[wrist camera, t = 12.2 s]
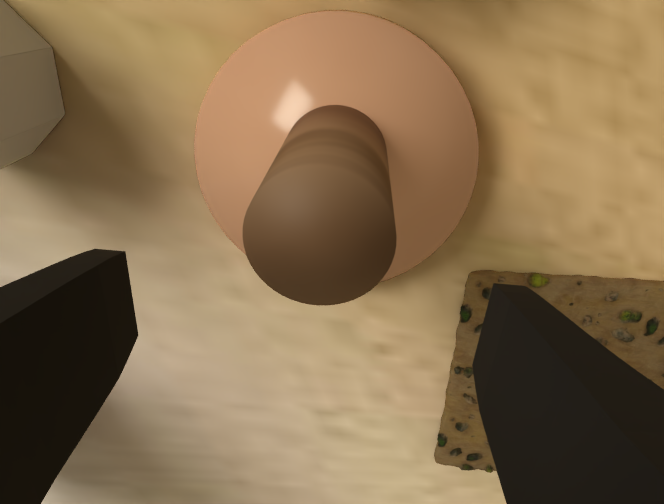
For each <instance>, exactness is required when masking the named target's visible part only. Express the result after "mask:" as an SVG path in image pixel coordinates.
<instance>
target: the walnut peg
mask: <svg viewBox="0 0 664 504" xmlns="http://www.w3.org/2000/svg"><path fill="white" fill-rule="evenodd" d="M396 240H397V235H396V226H395V218H394V209H393V200H392V192H391V183H390V174H389V166H388V157H387V149H386V144H385V140H384V138H383V135H382V133H381V131H380V130H379V128H378V127H377V125H376V124H375V123H374V122H373V121H372V120H371V119H370V118H369V117H368V116H367V115H365V114H364V113H362V112H360V111H359V110H357V109H354V108H351V107H348V106H343V105H327V106H322V107H318V108H316V109H313V110H311V111H309V112H308V113H306V114H305V115H303V116H302V117H301V118H300V119H299V120H298V121H297V122H296V123H295V124H294V126H293V127H292V129H291V130H290V132H289V134H288V136H287V137H286V139H285V141H284V143H283V145H282V146H281V148H280V150H279V152H278V154H277V156H276V157H275V159H274V161H273V163H272V165H271V166H270V168H269V170H268V172H267V174H266V175H265V177H264V179H263V181H262V183H261V184H260V186H259V188H258V190H257V192H256V193H255V195H254V197H253V199H252V201H251V202H250V205H249V207H248V209H247V211H246V214H245V217H244V222H243V244H244V249H245V252H246V255H247V258H248V260H249V262H250V264H251V266H252V267H253V269H254V271H255V272H256V273H257V274H258V276H259V277H260V278H261V279H262V280H263V281H264V282H265V283H266V284H267V285H268V286H269V287H271V288H272V289H273V290H275V291H276V292H278V293H279V294H281V295H283V296H285V297H287V298H289V299H292V300H295V301H298V302H301V303H306V304H311V305H335V304H340V303H345V302H348V301H351V300H354V299H356V298H358V297H360V296H362V295H364V294H365V293H367V292H368V291H370V290H371V289H372V288H374V287H375V286H376V285H377V284H378V283H379V282H380V281H381V280H382V279H383V277H384V276H385V274H386V273H387V271H388V270H389V268H390V266H391V264H392V261H393V258H394V255H395V250H396Z"/></svg>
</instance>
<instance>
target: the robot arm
mask: <svg viewBox="0 0 664 504" xmlns="http://www.w3.org/2000/svg"><path fill="white" fill-rule="evenodd" d="M137 337H138V330H137V324H136V317H135V311H134V305H133V298H132V292H131V285H130V279H129V273H128V266H127V260H126V253H125V251H113V250H102V249H93V250H90V251H86V252H83V253H81V254H78V255H75V256H73V257H70V258H68V259H65V260H63V261H60V262H58V263H55V264H53V265H51V266H48V267H46V268H44V269H41V270H39V271H37V272H35V273H32V274H30V275H28V276H25V277H23V278H21V279H18V280H16V281H14V282H11V283H9V284H7V285H5V286H2V287H0V504H41V502H42V501H43V499H44V497H45V495H46V494H47V492H48V490H49V489H50V487H51V485H52V483H53V482H54V480H55V478H56V477H57V475H58V474H59V472H60V471H61V469H62V467H63V466H64V464H65V463H66V461H67V460H68V458H69V456H70V455H71V453H72V452H73V450H74V449H75V447H76V446H77V444H78V442H79V441H80V439H81V438H82V436H83V435H84V433H85V431H86V430H87V428H88V427H89V425H90V424H91V422H92V421H93V419H94V417H95V416H96V414H97V413H98V411H99V410H100V408H101V406H102V405H103V403H104V402H105V400H106V398H107V397H108V395H109V394H110V392H111V390H112V389H113V387H114V385H115V384H116V382H117V381H118V379H119V377H120V375H121V373H122V371H123V368H124V366H125V364H126V362H127V360H128V358H129V356H130V353H131V351H132V349H133V346H134V344H135V342H136V339H137ZM472 367H473V374H474V381H475V388H476V395H477V401H478V406H479V412H480V415H481V419H482V423H483V426H484V429H485V433H486V436H487V440H488V443H489V446H490V450H491V453H492V456H493V460H494V463H495V466H496V470H497V473H498V476H499V480H500V483H501V486H502V490H503V493H504V496H505V500H506V503H507V504H664V389H662V388H661V387H660V386H658V385H657V384H655V383H654V382H652V381H651V380H650V379H648V378H647V377H645V376H644V375H643V374H641V373H640V372H638V371H637V370H635V369H634V368H633V367H631V366H630V365H629V364H627V363H626V362H624V361H623V360H622V359H620V358H619V357H618V356H616V355H615V354H614V353H612V352H611V351H610V350H608V349H607V348H606V347H604V346H603V345H602V344H601V343H599V342H598V341H597V340H595V339H594V338H593V337H592V336H590V335H589V334H588V333H586V332H585V331H584V330H583V329H581V328H580V327H579V326H578V325H576V324H575V323H574V322H573V321H571V320H570V319H569V318H568V317H566V316H565V315H564V314H563V313H561V312H560V311H559V310H558V309H556V308H555V307H554V306H552V305H551V304H550V303H549V302H547V301H546V300H545V299H543V298H542V297H541V296H539V295H538V294H537V293H535V292H534V291H533V290H531V289H529V288H528V287H526V286H522V285H510V284H498V283H493V286H492V290H491V294H490V298H489V302H488V306H487V310H486V313H485V317H484V321H483V325H482V329H481V333H480V337H479V341H478V344H477V348H476V352H475V356H474V360H473V364H472Z"/></svg>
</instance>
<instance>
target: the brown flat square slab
mask: <svg viewBox="0 0 664 504" xmlns="http://www.w3.org/2000/svg"><path fill="white" fill-rule="evenodd" d="M493 283H498V284H510V285H522V286H526V287H528V288H529V289H531V290H533V291H534V292H535V293H537V294H538V295H539V296H541V297H542V298H543V299H545V300H546V301H547V302H549V303H550V304H551V305H552V306H554V307H555V308H556V309H558V310H559V311H560V312H561V313H563V314H564V315H565V316H566V317H568V318H569V319H570V320H571V321H573V322H574V323H575V324H576V325H578V326H579V327H580V328H581V329H583V330H584V331H585V332H586V333H588V334H589V335H590V336H592V337H593V338H594V339H595V340H597V341H598V342H599V343H601V344H602V345H603V346H604V347H606V348H607V349H608V350H610V351H611V352H612V353H614V354H615V355H616V356H618V357H619V358H620V359H622V360H623V361H624V362H626V363H627V364H629V365H630V366H631V367H633V368H634V369H635V370H637V371H638V372H640V373H641V374H643V375H644V376H645V377H647V378H648V379H650V380H651V381H652V382H654V383H655V384H657V385H658V386H660V387H661V388H662V389H664V281H653V280H640V279H634V278H624V279H618V278H602V277H597V276H582V275H572V276H570V275H549V274H539V273H514V272H497V271H492V270H484V271H474V272H471V273H470V274H469V276H468V280H467V282H466V285H465V287H466V288H465V294H464V301H463V304H462V306H461V312H460V322H459V325H458V328H457V332H456V348H455V351H454V357H453V360H452V363H451V369H450V378H449V382H448V386H447V389H446V400H445V408H444V412H443V415H442V417H441V425H440V430H439V434H438V439H437V440H438V442H437V446H436V449H435V453H434V457H435V461H436V463H439V464H443V465H451V466H456V467H459V468H460V469H461V470H475V469H480V470H485V471H486V472H490V473H491V472H492V471H493V470H494V471H497V470H496V466H495V463H494V460H493V456H492V453H491V450H490V446H489V443H488V440H487V436H486V433H485V429H484V426H483V423H482V419H481V415H480V412H479V406H478V401H477V395H476V388H475V381H474V374H473V367H472V364H473V360H474V356H475V352H476V348H477V344H478V341H479V337H480V333H481V329H482V325H483V321H484V317H485V313H486V310H487V306H488V302H489V298H490V294H491V290H492V286H493Z"/></svg>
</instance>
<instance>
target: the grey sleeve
mask: <svg viewBox="0 0 664 504" xmlns="http://www.w3.org/2000/svg"><path fill="white" fill-rule="evenodd" d="M64 115H65V111H64V106H63V100H62V95H61V90H60V85H59V80H58V75H57V70H56V64H55V59H54V54H53V49H52V47H51V46H50V45H49V44H48V43H47V42H46V41H45V40H44V39H43V38H42V37H41V36H40V35H39V34H38V33H37V32H36V31H35V30H34V29H33V28H32V27H31V26H30V25H28V24H27V23H26V22H25V21H24V20H23V19H22V18H21V17H20V16H19V15H18V14H17V13H16V12H15V11H14V10H13V9H12V8H11V7H10V6H9V5H8V4H7V3H6V2H5V1H4V0H0V169H2V168H4V167H6V166H8V165H10V164H12V163H14V162H16V161H18V160H20V159H22V158H24V157H26V156H28V155H30V154H32V153H33V152H34V151H35V150H36V148H37V147H38V146H39V145H40V144H41V142H42V141H43V140H44V139H45V138H46V136H47V135H48V134H49V133H50V132H51V131H52V129H53V128H54V127H55V126H56V125H57V123H58V122H59V121H60V120H61V119H62V117H63V116H64Z"/></svg>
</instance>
